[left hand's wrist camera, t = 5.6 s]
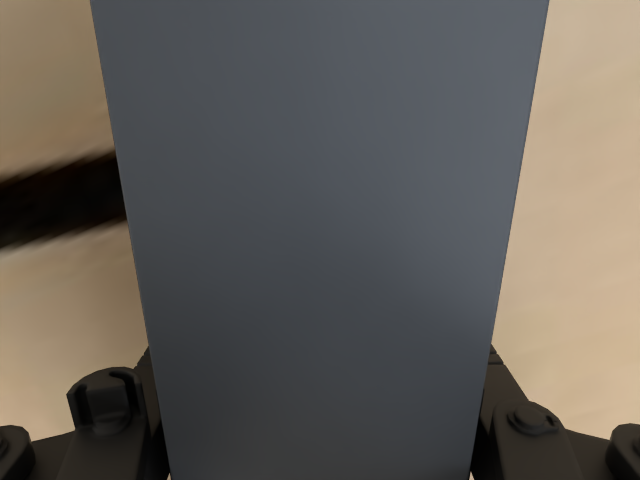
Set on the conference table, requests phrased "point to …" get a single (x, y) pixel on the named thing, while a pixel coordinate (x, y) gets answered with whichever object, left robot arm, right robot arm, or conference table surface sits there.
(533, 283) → the conference table surface
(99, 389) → the left robot arm
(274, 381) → the beam
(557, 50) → the conference table surface
